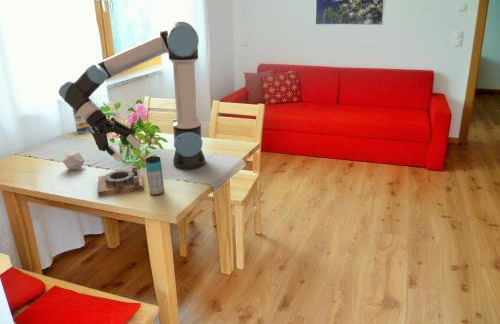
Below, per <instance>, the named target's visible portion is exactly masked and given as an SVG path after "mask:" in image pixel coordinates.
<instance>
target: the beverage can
mask: <svg viewBox="0 0 500 324" xmlns="http://www.w3.org/2000/svg"><path fill="white" fill-rule="evenodd" d="M145 167H146V168H145V169H146V176H147V177H146V178H147V183H148V184H147V185H148V191H149V194H150V195H151V196H160V194H161V195H163V194H164V191H165V187H164V178H163V168H162V162H161V157H160V156H156V155H155V156H148V157H146V158H145Z"/></svg>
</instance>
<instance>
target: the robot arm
mask: <svg viewBox="0 0 500 324" xmlns="http://www.w3.org/2000/svg"><path fill="white" fill-rule="evenodd" d="M198 47H199V35H198V32H197V31H196V29H195V28H194V27H193V26H192V25H191V24H190V23H188V22H185V21H177V22H175V23H173V24H171V25H170V26H169V27H167V28H165V29H163V30H161V31H159V32H158V34H157V35H155V36H154V37H152V38H150V39H148V40H145V41H143V42H141V43H139V44H137V45H135V46H132V47H130V48H128V49H125V50H124V51H121V52H119V53H117V54H115V55H112V56H110V57H108V58H105V59H104V60H101V61H99V62H96V63H92V64H90V65H89V66H88V68H87V69H86V70H85V71H84V72H83V73H82V74H81V75H80V76H79V78H77V80H75V82H74V81H73V80H70V81H66V82H64V84H62V85H61V86H60V87H59V90H58V94H59V96H60V97H61V98H62V99H63V100H64V102H65V103H66V104H67V105H68V106H69V107H70V108H71V109H72V110H73V109H74V110H75V111H76V112H77V113H78V114H79V115H80V116H81V117H82V118H83V119H84V120H86V123H87V124H88V125H89V126H90V127H91V129H90V131H89V133H90V134H91V135H92V138H93V139H94V142H95V144H96V146H97V149H98V150H99V151H101V152H107V154H109V155H110V156H111V157H113V158H114V160H116V162H117V163H119V162H120V161H122V159H123V156H122V155H121V154H120V152H118V151H117V150H116V149H115V148H114V147H113V146H112V145H109V140H108V134H110V133H115V134H117V135H120V136H123V137H125V139H126V140H127V141H128V142H129V143H130V145H132V147H133V148H134V149H136V150H139V148H141V147H142V144H141V143H140V142H139V141H138V140H137V139H136V138H135V137H134V135H133V129H131V128H130V127H128V126H126V125H124V124H123V123H121V122H120V121H118V120H116V118H114V117H111V118H110V119H108V118H107V115H106V113H104V111H103V110H101V109H100V108H99V106H97V104H96V103H94V101H93V100H91V98H90V97H91V96H92V95H93V93H94V92H96V91H97V90H98V89H99V88H100V86H102V85H103V84H104V83H105V82H106V81H107V80H109V79H111V78H113V77H115V76H117V75H119V74H122V73H123V72H126V71H128V70H131V69H133V68H135V67H137V66H139V65H142V64H144V63H146V62H149V61H151V60H153V59H155V58H157V57H160V56H162V55H164V54H168V60H169V61H170V62H171V63H172V66H173V67H172V68H173V82H174V98H175V100H174V101H175V115H176V117H175V118H173V119H172V127H173V147H174V148H175V152H174V156H173V159H172V163H173V167H175V169H180V170H195V169H198V168H202V167H203V166H204V165H205V164H206V158H205V155H204V152H203V150H202V147H203V140H202V124H201V122H200V121H199V117H198V113H197V112H198V111H197V109H198V108H197V92H196V91H197V90H196V89H197V87H196V67H195V66H196V62H197V61H198V59H199V48H198Z"/></svg>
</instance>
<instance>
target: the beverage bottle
mask: <svg viewBox="0 0 500 324" xmlns="http://www.w3.org/2000/svg"><path fill="white" fill-rule="evenodd" d="M72 112H73V115H72V116H73V119H74V123H75V129H76V132H77V133H81V134H83V133H88V132H89V131H90V129H91V127H90V126H89V125H88V124H87V123H86V120H84V119H83V118H82V117H81V116H80V115H79V114H78V113H77V112H76V111H75V110H74V109H73V108H72ZM89 133H90V132H89Z"/></svg>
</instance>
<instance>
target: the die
mask: <svg viewBox="0 0 500 324" xmlns="http://www.w3.org/2000/svg"><path fill="white" fill-rule="evenodd" d="M85 160H86V159H84V157H83V156H82V155H81V152H68V153H67V154H66V155H65V157H64V159H63V161H62V163H63V164H64V165H65V167H66V168H67V170H68V171H80V170H81V169H82V167H83V165H84V163H85Z"/></svg>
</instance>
